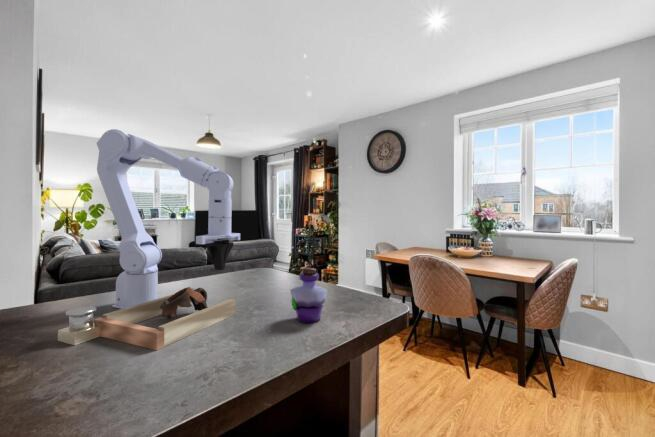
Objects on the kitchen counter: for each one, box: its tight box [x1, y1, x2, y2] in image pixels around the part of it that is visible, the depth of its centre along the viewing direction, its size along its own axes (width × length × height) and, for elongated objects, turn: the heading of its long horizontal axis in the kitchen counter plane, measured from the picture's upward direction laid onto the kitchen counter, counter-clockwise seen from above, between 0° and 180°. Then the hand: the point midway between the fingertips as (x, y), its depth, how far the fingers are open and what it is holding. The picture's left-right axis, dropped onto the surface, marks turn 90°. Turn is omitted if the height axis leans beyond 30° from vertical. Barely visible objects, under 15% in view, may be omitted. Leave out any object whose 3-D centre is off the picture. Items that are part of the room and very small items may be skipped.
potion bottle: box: [290, 267, 328, 325], centre depth 72 cm, size 9×9×12 cm
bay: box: [93, 293, 237, 351], centre depth 67 cm, size 17×22×4 cm
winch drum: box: [57, 305, 102, 346], centre depth 59 cm, size 5×5×5 cm
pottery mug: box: [160, 286, 209, 320], centre depth 71 cm, size 12×10×8 cm
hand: (219, 269), depth 81 cm, fingers closed
